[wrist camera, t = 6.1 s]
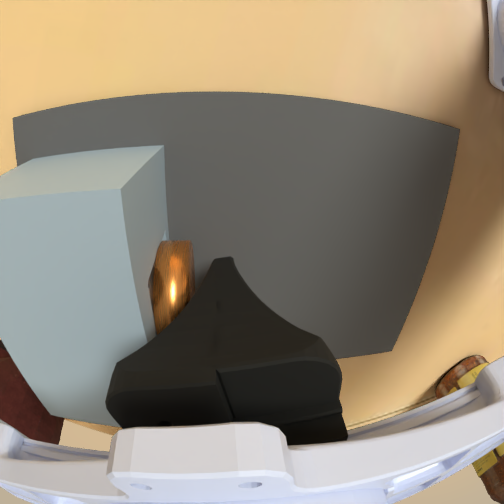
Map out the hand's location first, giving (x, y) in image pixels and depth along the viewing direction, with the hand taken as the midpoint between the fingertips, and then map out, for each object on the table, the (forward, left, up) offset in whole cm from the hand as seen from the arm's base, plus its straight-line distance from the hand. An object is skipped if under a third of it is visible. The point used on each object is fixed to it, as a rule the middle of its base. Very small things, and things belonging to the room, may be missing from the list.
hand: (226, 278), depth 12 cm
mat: (-1, 0, -2) cm, 2 cm away
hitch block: (+5, 0, -2) cm, 6 cm away
